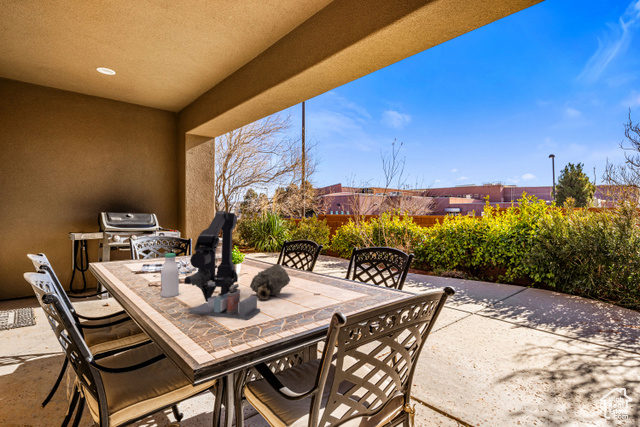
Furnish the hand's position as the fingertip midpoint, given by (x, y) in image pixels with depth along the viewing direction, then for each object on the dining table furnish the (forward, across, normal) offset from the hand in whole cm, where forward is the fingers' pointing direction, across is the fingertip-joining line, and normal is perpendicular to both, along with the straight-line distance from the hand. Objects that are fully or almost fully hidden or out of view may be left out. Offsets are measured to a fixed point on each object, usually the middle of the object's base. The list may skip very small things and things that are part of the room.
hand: (207, 301), depth 126 cm
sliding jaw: (+2, +5, 0) cm, 6 cm away
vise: (+4, +8, 0) cm, 9 cm away
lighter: (+2, +12, 0) cm, 12 cm away
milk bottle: (+4, -31, +14) cm, 34 cm away
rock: (+4, +14, +26) cm, 30 cm away
